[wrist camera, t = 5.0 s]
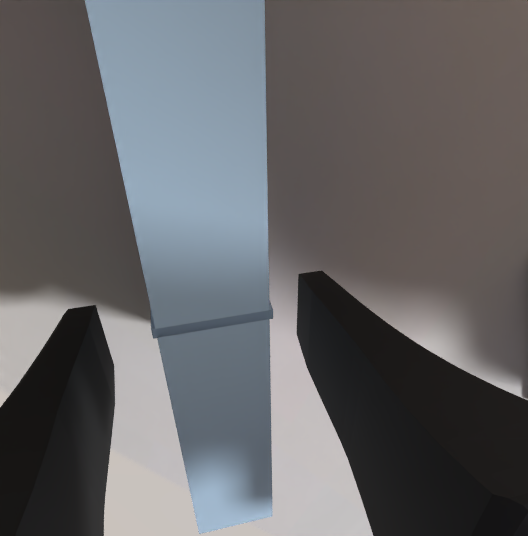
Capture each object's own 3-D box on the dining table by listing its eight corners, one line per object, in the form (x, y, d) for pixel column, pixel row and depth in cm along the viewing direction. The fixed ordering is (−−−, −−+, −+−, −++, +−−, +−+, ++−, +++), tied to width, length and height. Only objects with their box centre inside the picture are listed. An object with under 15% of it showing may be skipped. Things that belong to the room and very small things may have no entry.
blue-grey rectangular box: (230, 331, 14) (274, 516, 9) (177, 340, 14) (196, 534, 9) (171, -367, 6) (261, -1141, 2) (47, -377, 6) (-213, -1321, 2)
